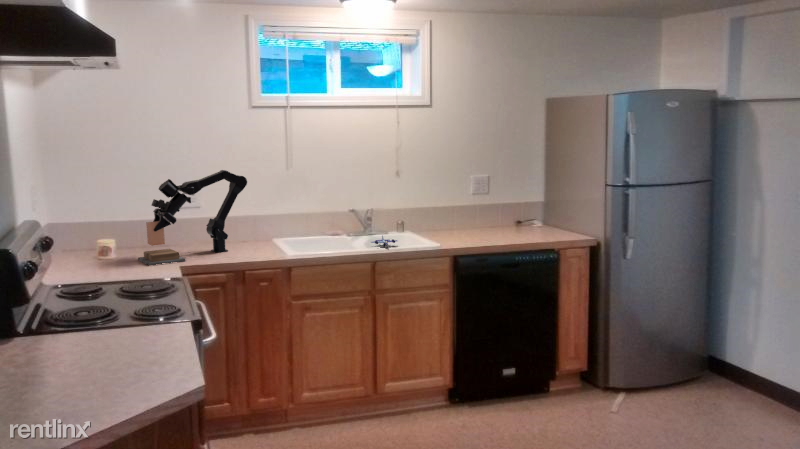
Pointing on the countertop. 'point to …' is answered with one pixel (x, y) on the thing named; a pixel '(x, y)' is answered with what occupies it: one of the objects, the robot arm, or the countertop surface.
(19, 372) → the countertop surface
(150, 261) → the tower base
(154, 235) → the terracotta brick
